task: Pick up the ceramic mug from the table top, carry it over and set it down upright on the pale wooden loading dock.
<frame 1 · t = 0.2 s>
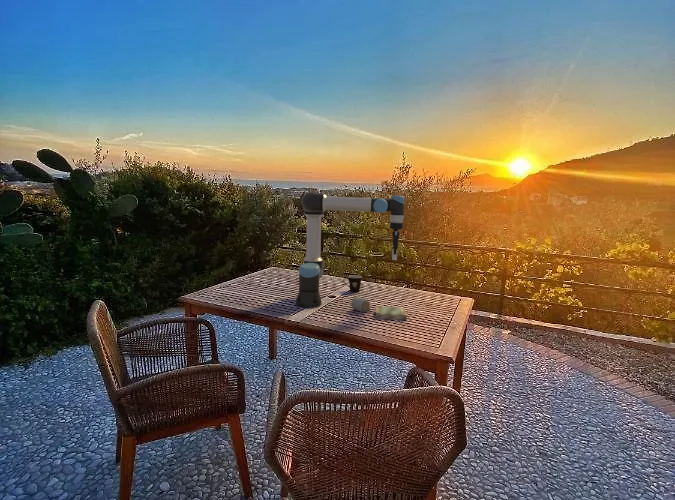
hand: (394, 258, 223), 28 cm above the table, tool pointing down, fingers open, 13 cm apart
coffee mug: (352, 291, 252), on the table
dock: (390, 315, 204), on the table
ceramic mug: (361, 310, 211), on the table
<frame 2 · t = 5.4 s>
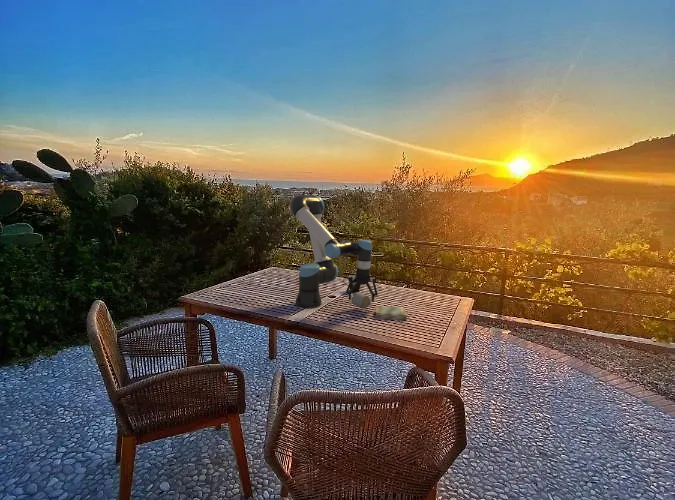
hand: (360, 306, 211), 2 cm above the table, tool pointing down, fingers closed on ceramic mug, 10 cm apart
ceramic mug: (362, 306, 212), point 2 cm above the table, touching gripper
everything else where it was.
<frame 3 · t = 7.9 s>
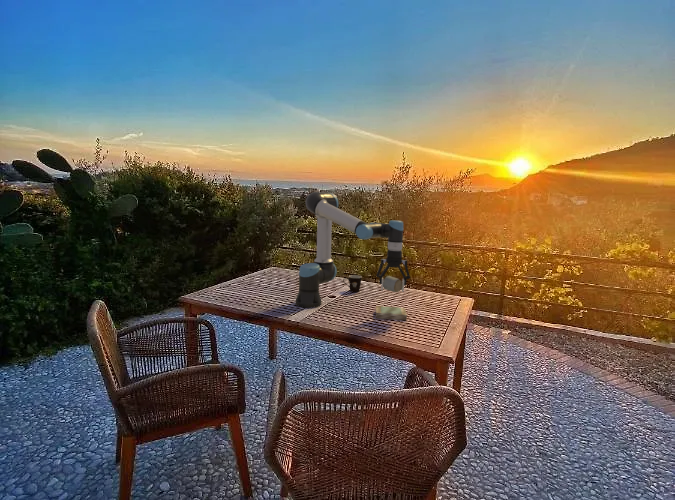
hand: (392, 290, 202), 14 cm above the table, tool pointing down, fingers closed on ceramic mug, 10 cm apart
ceramic mug: (393, 290, 203), point 14 cm above the table, touching gripper
everything else where it was.
when the fingers open (4 cm above the table, at t = 10.5 s): ceramic mug stays where it is, resting on dock.
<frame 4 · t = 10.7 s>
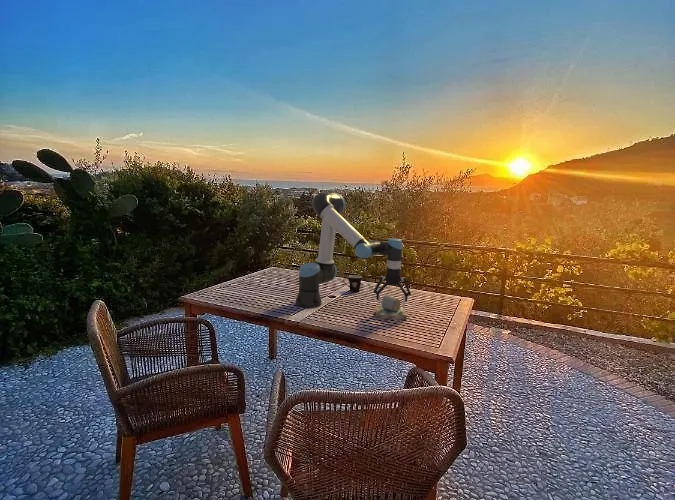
hand: (391, 306, 203), 5 cm above the table, tool pointing down, fingers open, 13 cm apart
ceramic mug: (391, 309, 205), point 3 cm above the table, touching dock
everything else where it was.
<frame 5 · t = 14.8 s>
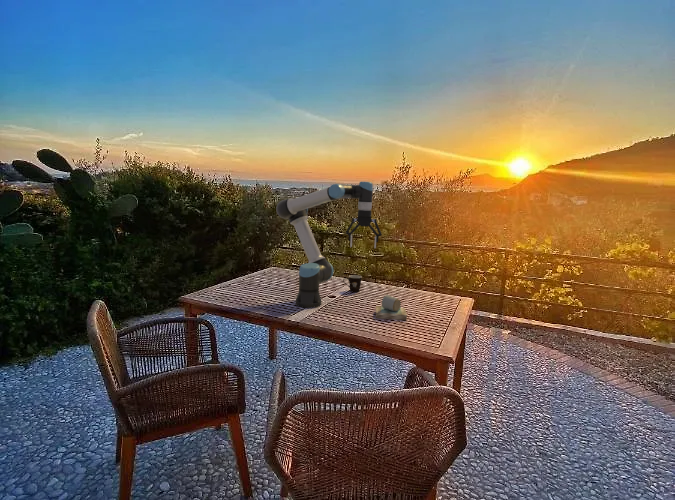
hand: (363, 247, 213), 35 cm above the table, tool pointing down, fingers open, 13 cm apart
nothing on the table moved.
at the end: ceramic mug inside the target area on the dock (1.6 cm from its centre), point 2.9 cm above the dock's base; ceramic mug tilted 0°; the gripper is holding nothing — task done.
